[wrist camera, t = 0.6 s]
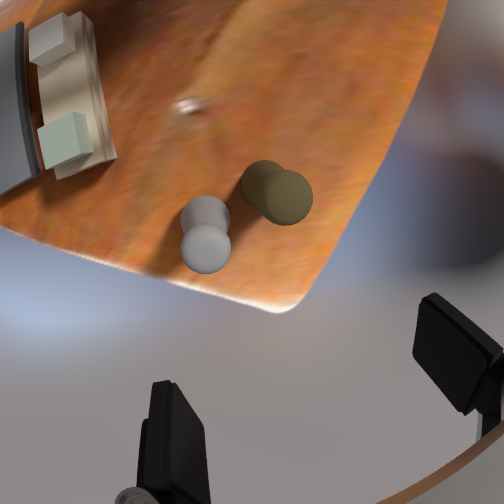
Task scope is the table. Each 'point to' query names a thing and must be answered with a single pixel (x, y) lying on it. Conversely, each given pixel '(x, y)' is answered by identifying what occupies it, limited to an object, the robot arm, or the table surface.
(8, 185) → the dock
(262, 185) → the pepper shaker
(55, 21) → the white cube
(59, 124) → the block
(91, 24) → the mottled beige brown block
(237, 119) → the table surface
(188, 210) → the salt shaker
